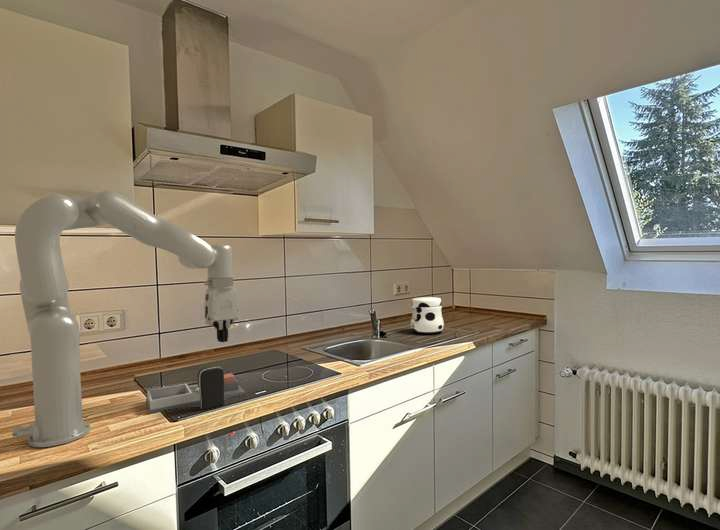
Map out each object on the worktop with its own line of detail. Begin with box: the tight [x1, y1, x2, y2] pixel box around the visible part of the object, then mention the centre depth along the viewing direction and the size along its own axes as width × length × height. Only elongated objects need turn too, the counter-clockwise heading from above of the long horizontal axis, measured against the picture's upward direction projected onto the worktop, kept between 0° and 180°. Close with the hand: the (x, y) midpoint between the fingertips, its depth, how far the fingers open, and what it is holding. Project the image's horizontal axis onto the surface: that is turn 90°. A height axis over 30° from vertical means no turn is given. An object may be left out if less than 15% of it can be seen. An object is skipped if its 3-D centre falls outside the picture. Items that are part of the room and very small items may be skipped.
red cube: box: [224, 372, 236, 384], centre depth 132 cm, size 4×4×4 cm
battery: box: [197, 365, 225, 410], centre depth 120 cm, size 7×4×11 cm, turn 131°
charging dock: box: [145, 378, 246, 415], centre depth 128 cm, size 27×12×4 cm, turn 121°
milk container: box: [410, 296, 445, 335], centre depth 219 cm, size 17×17×18 cm
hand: (222, 341), depth 130 cm, fingers closed
